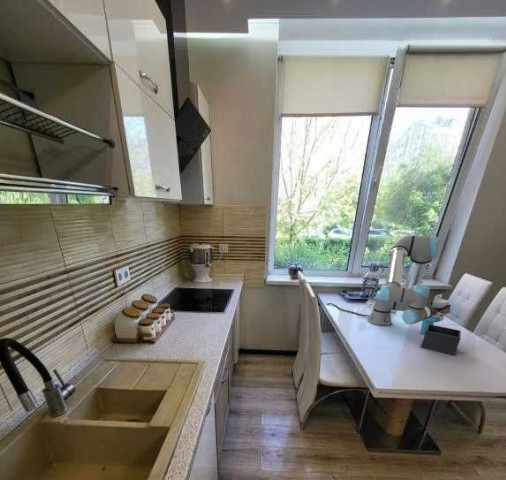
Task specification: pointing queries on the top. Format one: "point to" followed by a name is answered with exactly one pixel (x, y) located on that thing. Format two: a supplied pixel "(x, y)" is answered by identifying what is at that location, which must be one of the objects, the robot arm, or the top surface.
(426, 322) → the cup
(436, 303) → the ink box
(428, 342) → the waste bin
